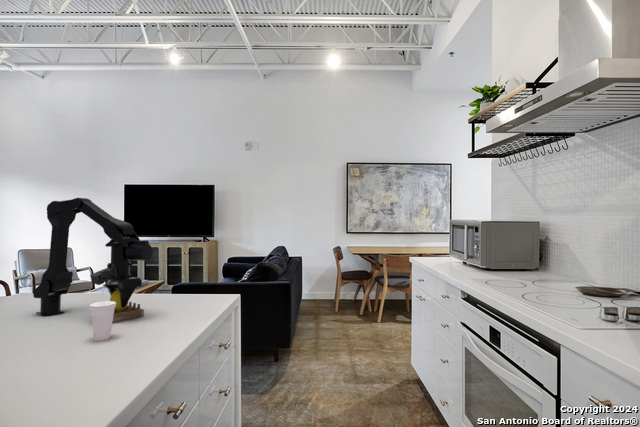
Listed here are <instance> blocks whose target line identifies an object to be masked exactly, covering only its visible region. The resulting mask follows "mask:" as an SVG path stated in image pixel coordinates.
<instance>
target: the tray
mask: <svg viewBox="0 0 640 427" xmlns="http://www.w3.org/2000/svg"><path fill="white" fill-rule="evenodd" d="M132 302H133V301H128V305H127V306H126V308H124V309H123V310H121V311H120V312H117V311H116V310H114V315H113V322H112V324H115V323H116V324H117V323H120V322H125V321H131V320H135V319H139V318H144V317H145V315H144V314H145V313H144V312H145V310H144V308H141V303H139V304H138V303H136V302H133V303H132Z"/></svg>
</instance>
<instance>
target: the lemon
mask: <svg viewBox="0 0 640 427" xmlns="http://www.w3.org/2000/svg"><path fill="white" fill-rule="evenodd" d="M109 301H114V302H116V307H115V309H114V310H116V311H117V312H120V311H121V310H123V309H124V308H126V307H123V308H122V307H121V300H120V292H119V291H118V290H116V291H114V292H113V293H112V295H110V298H109ZM127 305H129V302H128V303H127ZM127 305H126V306H127Z"/></svg>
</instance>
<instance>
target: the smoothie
mask: <svg viewBox="0 0 640 427" xmlns="http://www.w3.org/2000/svg"><path fill="white" fill-rule="evenodd" d="M115 307H116V302H114V301H110V300H105V287H102V288H101V301H98V302H97V301H95V302H94V303H90V304H89V307H88V308H89V310H90V314H91V321H92V322H91V324H92V330H93V339H94V341H96V342H102V341H106V340H109V339H110V338H111V333H112V329H113V328H112V327H113V323H112V322H113V315H114V309H115Z"/></svg>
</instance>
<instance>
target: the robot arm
mask: <svg viewBox="0 0 640 427" xmlns="http://www.w3.org/2000/svg"><path fill="white" fill-rule="evenodd" d="M80 213H82V214H84V215H85V216H86V217H87V218H89V219H91V220H92V221H94V222H95V223H96V224H97V225H99V226H100V227H101V228H102V229H103V232H104V234H105V235H106V237H108V238H109V239H110V240H108V242H107V243H105V247H110V262H108V263H107V264H106V265H107V266H106V268H103V269H100V270H98V271H95V272H93V273H91V274H90V278H91V281H92V283H93V285H97V286H100V285H102V286H103V287H104V288H106V289H107V290H108V291H109V295H110V296H111V295H112V293H113V292H114V291H116V290H118V291H119V292H120V300H121V307H122V308H123V307H126V305H127V303H128V304H129V302H130V301H129V300H130V299H131V297H132V295H133V294H134V292H135V290H136V289H137V288H139V287H142V286H143V279H141V278H140V277H135V276H133V274H130V273H131V272H130V271H131V266H133V262H131V261H141V262H143V261H145V262H147V261H149V260H151V258H152V256H153V251H154V250H153V247H152V246H151V244H150V242H149V239H148V240H141V239H140V237H139V236H138V234H137V233H136V232H135V230H134V229H135V227H134V226H133V225H132V224H131V223H129V222H127V221H125V220H122V219H118V218H117V217H114V216H113V215H111V214H110V213H108V212H107V211H105V210H104V209H102V208H101V207H100V206H98V205H97V204H96V203H94V202H93V201H92V200H91V199H90V198H85V197H75V198H72V199H65V200H60V201H59V200H52V201H51V202H50V203H48V204H47V206H46V219H47V220H48V221H49V223H50V225H51V233H50V236H51V237H50V247H49V248H50V249H49V260H48V267H47V269H45V272H43V274H42V275H41V280H40V284H39V285H38V286H37V287H36V288H35V289H34V290H33V291H32V295H33V298H34V299H40V305H39V306H40V310H39V311H37V312H36V313H35V314H36V315H39V316H41V317H47V316H51V315H52V316H53V315H59V314H64V313H65V310H62V309H61V308H62V306H61V304H62V296H63V295H67V294H68V292H69V288H70V287H71V284H72V283H73V274H74V272H73V271H72V270H71V271H69V269H68V267H67V262H68V260H67V259H68V248H69V247H68V246H69V236H70V235H69V234H70V227H71V225H72V224H73V222H74V221H75V220H76V216H77V214H80Z"/></svg>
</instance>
